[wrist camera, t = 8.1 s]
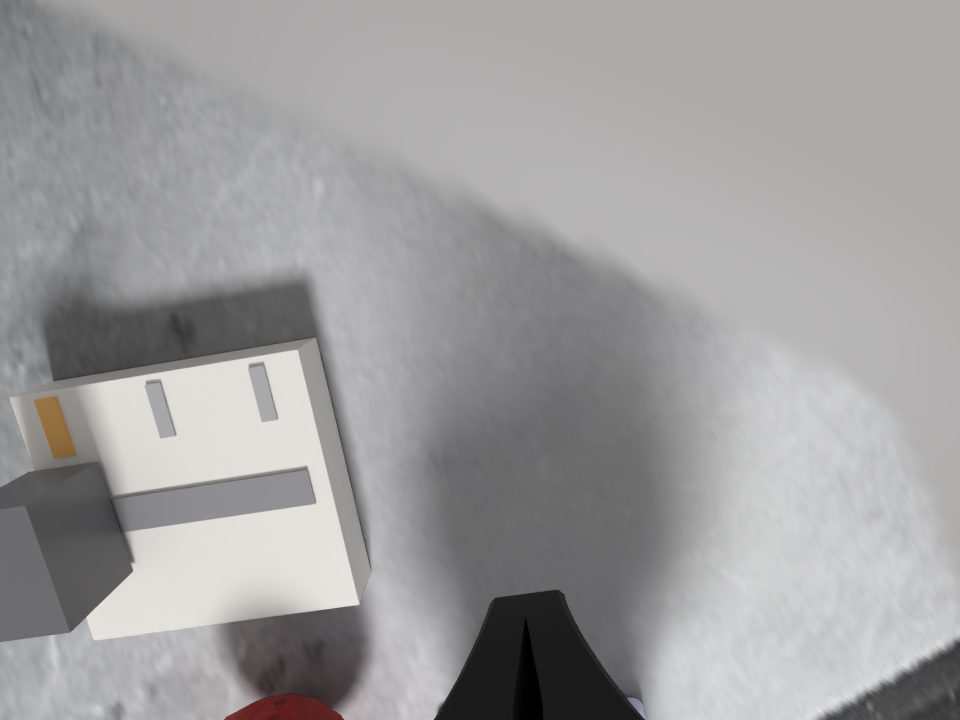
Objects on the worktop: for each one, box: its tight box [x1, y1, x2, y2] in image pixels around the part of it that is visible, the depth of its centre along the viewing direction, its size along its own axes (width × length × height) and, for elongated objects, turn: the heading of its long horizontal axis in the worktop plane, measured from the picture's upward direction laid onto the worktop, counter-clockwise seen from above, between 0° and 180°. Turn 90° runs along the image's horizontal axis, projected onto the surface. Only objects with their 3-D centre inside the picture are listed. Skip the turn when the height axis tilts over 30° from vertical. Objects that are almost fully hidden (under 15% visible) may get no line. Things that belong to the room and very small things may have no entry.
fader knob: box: [0, 461, 133, 642], centre depth 19 cm, size 4×2×3 cm, turn 10°
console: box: [10, 337, 371, 641], centre depth 22 cm, size 9×10×2 cm
